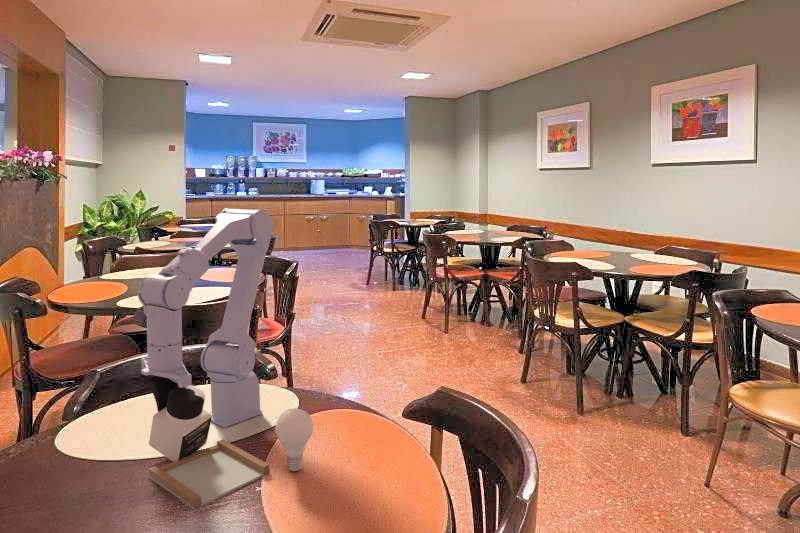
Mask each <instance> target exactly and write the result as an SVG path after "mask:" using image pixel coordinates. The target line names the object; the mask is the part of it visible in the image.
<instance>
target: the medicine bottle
mask: <svg viewBox="0 0 800 533" xmlns="http://www.w3.org/2000/svg"><path fill="white" fill-rule="evenodd" d="M205 399H206V395H205V393H204V392H203V390H202V389H200V388H199V387H197V386H195V385H193V384H192V385H191V386H187V387H183V388H180V387H178V386H177V387H175V388H174V389H172V390H171V391H170V392H169V395H168V400H167V406H166V408H164V409H163V410H161V411H159V412H158V411H157V412H156V413H155V414H153V416H152V421H151V429H150V434H149V441H148V445H149V446H150V447H151V448H152V449H154V450H156V451H157V452H158V453H160V454H161V455H162V456H164V457H166V459H169V460H170V461H172V462H175V461H180V460H181V459H183V458H185V457H187V456H190V455H192V454H195V453H197V452H198V451H199V450H200V449H201V448H202V447H204V446H205V445H206V444H207V441H208V436H209V432H210V427H211V424H212V423H211V422H212V421H211V418H212V415H211V414H210V412H208V411H206V410H204V404H205V401H206V400H205Z"/></svg>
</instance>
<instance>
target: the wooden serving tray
mask: <svg viewBox="0 0 800 533" xmlns="http://www.w3.org/2000/svg"><path fill="white" fill-rule="evenodd" d="M270 471H271V470H270V464H269V463H268V462H265V461H264V460H262V459H260V458H258V457H256V456H254V455H253V454H251V453H249V452H247V451H245V450H243V449H242V448H240V447H237V446H236V445H235V444H232V443H230V442H228V441H227V440H225V439H220V440H217V441H216V445H213V446H212V445H211V446H210V447H208V448H205V449H203V450H200V451H196V452H194V453H193V454H192V455H190V456H187V457H185V458H183V459H181V460H180V461H175V462H173V461H172V462H170V463H167V464H166V465H162V466H161V467H159V466H157V465H155V466H152V467H150V468H148V478H149V479H151V480H152V481H154V482H155V483H156V484H158V485H159V486H161V487H162V488H164V490H166V491H167V492H169V493H171V495H173V496H175V498H177V499H178V500H180V501H181V502H183V503H184V504H186V505H187V506H188V507H190V508H191V509H193V510H197V509H199V508H200V507H202V506H205V505H207V504H209V503H211V502H214V501H215V500H218V499H219V498H221V497H223V496H225V495H228V494H230V493H232V492H234V491H237V490H239V489H240V488H242V487H244V486H247V485H248V484H250V483H253V482H254V481H257V480H259V479H260V478H263V477H265V476H267V475H268V474H270V473H271V472H270Z"/></svg>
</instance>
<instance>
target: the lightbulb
mask: <svg viewBox="0 0 800 533" xmlns="http://www.w3.org/2000/svg"><path fill="white" fill-rule="evenodd" d="M313 422H314V421H313V420H312V417H311V415H310V414H309V413H308V412H307V411H305V410H303V409H300V408H296V407H295V408H288V409H287V410H285V411H283V412H282V413H280V415H279V416H278V418H277V420H276V423H275V425H274V428H275V431H274V432H275V436H276V437H277V439H278V441H279V443H280V444H281V445H282V446H283V448H284V449H283V450H284V453H285V454H286V463H287V464H286V465H287V466H286V468H287V470H288V471H290V472H291V471H292V472H298V471H300V470H302V469H303V467H304V463H303V462H304V461H303V458H304V456H303V455H304V453H305V449H306V448H305V447H306V445H307V443H308V442H309V440H310V438H311V437H312V435H313V432H314V423H313Z"/></svg>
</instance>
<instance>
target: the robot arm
mask: <svg viewBox="0 0 800 533" xmlns="http://www.w3.org/2000/svg"><path fill="white" fill-rule="evenodd" d="M273 224H274V223H273V222H272V219H271V216H270V214H269V212H268V211H267V210H265V209H263V208H260V209H250V208H249V209H246V208H245V209H243V208H242V209H241V208H232V207H225V208H224V209H222V210H221V212H220V213H219V214H217V215H216V216H215V224H214V225H213V226H212V227H211V229H210V230H209V231H208V232H207V233H206V234H205V236H204V237H203V238H202V239H201V240H200V241H199V242H198V243H197V244H196V246H195V247H194V248H193V247H186V248H180V250H178V251H177V255H176V257H175V258H173V259H172V260H171V261H170V262H169V263H167V265H165V266H164V267H163V268H161V271H159V272H158V274H155V273H154V274H151V275H149V276H147V277H146V278H145V279H144V280H142V282H141V284H140V287H139V291H137V298H138V300H139V302H140V303H141V305H142V307H143V314H144V315H145V317H146V344H147V345H146V348H147V349H146V350H147V351H146V352H147V356H145V357H141V358H140V364H141V371H140V373H141V375H143V376H151V377H148V378H146V380H145V381H146V382H145V383H146V384H147V385H148V387H149V389H150V391H151V393H152V395H153V398H154V399H155V404H156V408H157V409H156V410H157V413H158V412H159V411H161V410H163V409H164V408H166V406H167V400H168V395H169V392H170V391H171V390H172V389H174V388H175V387H177V386H178V387H180V388H183V387H187V386H191V385H192V386H193V384H192V379H193V378H192V377H193V376H192V374H191V373H189V371H188V370H187V368H186V366H185V365H184V363H183V321H182V320H183V319H182V318H183V315H182V313H183V312H182V310H183V307H184V306H185V305H186V304H187V302H188V301H189V297H190V293H191V291H192V290H193V286H194V285H195V284H196V283H197V282H198V281H199V280H200V279H201V278H202V277H203V276H204V275H205V274H206V273H207V272H208V271H209V269H210V262H209V261H210V260H211V259H212V258H213V257H215V256H216V254H218V253H219V252H220V251H221V250H223V249H224V248H225V247H226V246H227V245H229V246H230V248H231V249H233V250H234V251H236V253H237V255H238V260H237V263H236V266H235V271H234V274H233V279H232V282H231V283H232V284H231V287H230V291H229V294H228V298H227V299H228V300H227V302H226V307H225V311H224V315H223V320H222V322H221V327H220V328H219V329H217V330H216V331H214V332H213V333H211V334H210V335H209V336H208V340H207V343H206V345H205V347H204V348H203V350H202V351H201V355H200V366H201V368H202V370H203V371H204V372H206V374H207V378H209V379H210V381H209V382H210V400H211V401H210V402H211V404H210V405H211V411H210V412H209V413H210V414H211V415H212V418H211V422H212V423H214V424H216V425H218V426H220V427H222V428H228V427H231V426H232V425H235V424H237V423H241V422H243V421H246V420H248V419H252V418H254V417H257V416H259V415H262V414H263V410H261V396H260V394H261V392H260V388H261V387H260V381H259V379H258V376H257V374H256V373H255V372H254V371H253V369H254V367H255V364H256V355H255V352H256V346H257V343H256V342H255V340H254V339H253V337H251V336H250V334H249V333H248V329H249V327H250V322H251V317H252V313H253V310H254V304H255V302H256V298H257V293H258V288H259V285H260V280H261V277H262V276H261V275H262V272H263V267H264V265H265V263H264V262H265V260H266V255H267V252H269V247H270V242H271V240H272V235H273V230H274V225H273ZM230 344H231V345H230ZM232 344H233V345H232Z"/></svg>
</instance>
